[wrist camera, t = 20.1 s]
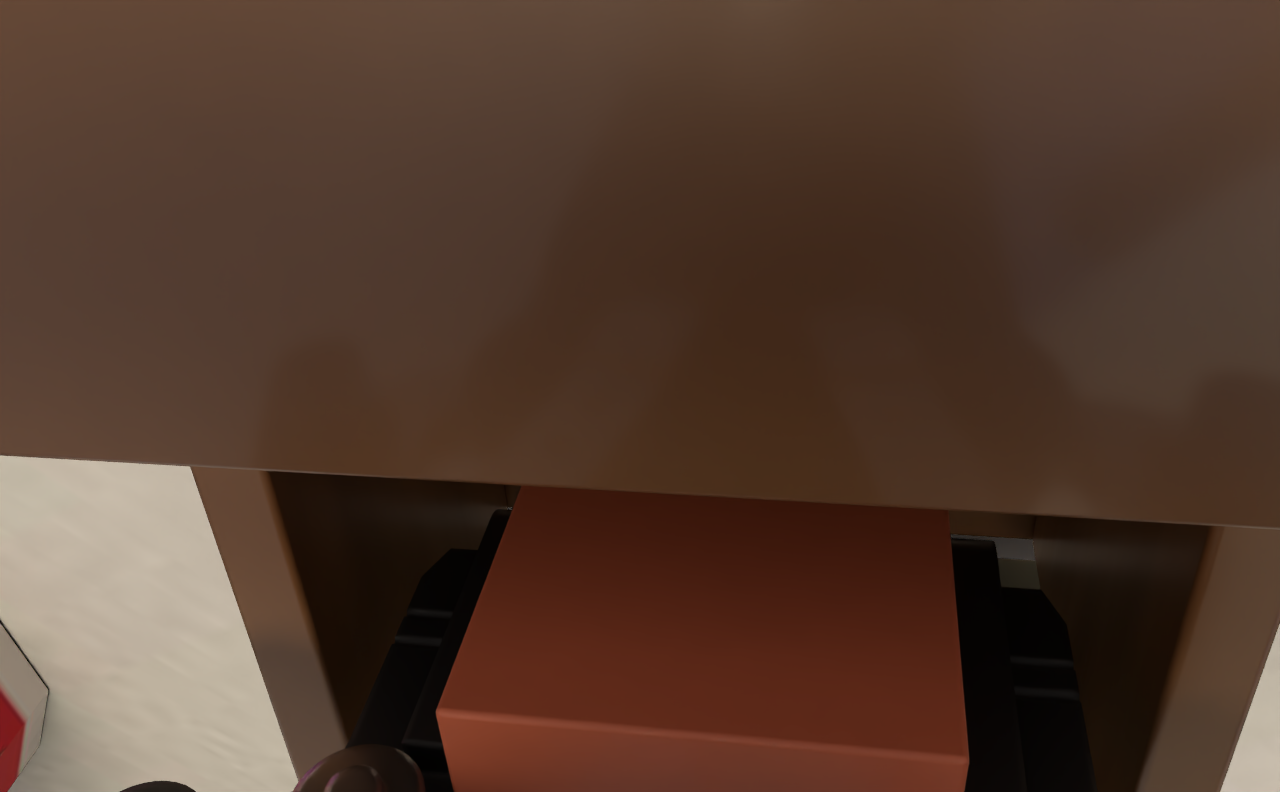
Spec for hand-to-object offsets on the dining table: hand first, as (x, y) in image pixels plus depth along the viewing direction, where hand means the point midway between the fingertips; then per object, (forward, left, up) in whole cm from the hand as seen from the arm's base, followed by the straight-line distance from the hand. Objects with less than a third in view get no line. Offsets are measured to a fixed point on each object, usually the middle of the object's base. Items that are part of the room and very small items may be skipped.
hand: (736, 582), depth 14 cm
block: (0, 0, 0) cm, 0 cm away
